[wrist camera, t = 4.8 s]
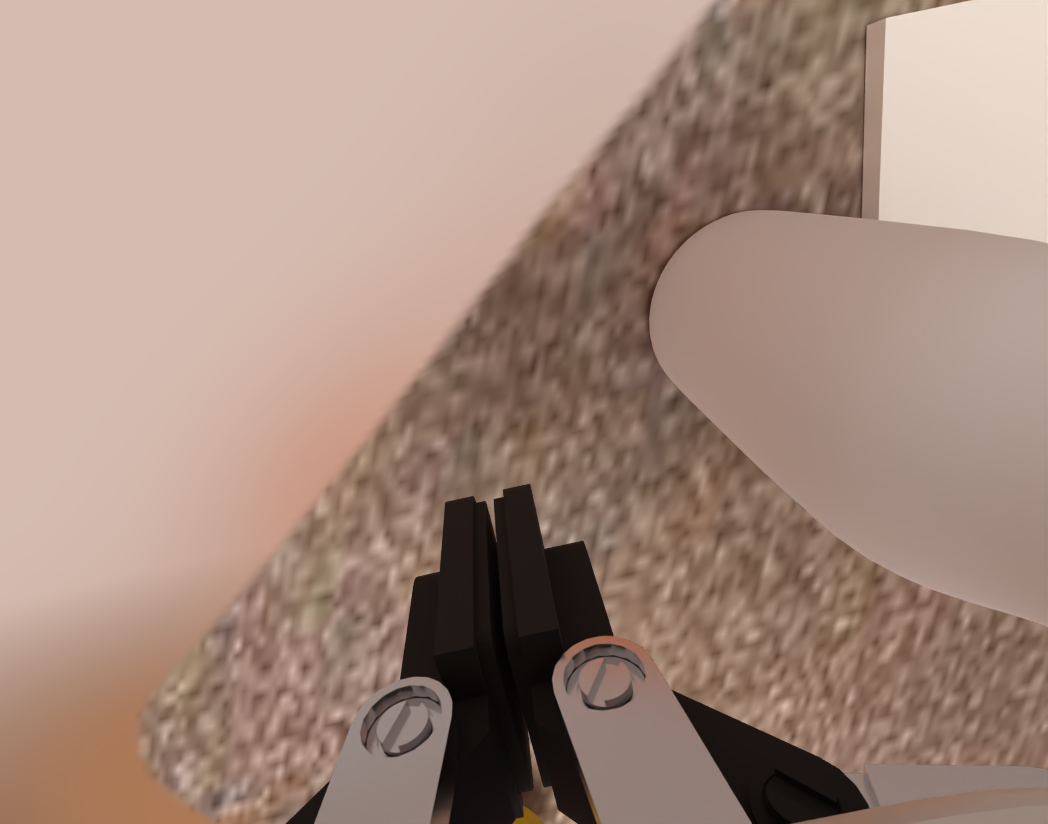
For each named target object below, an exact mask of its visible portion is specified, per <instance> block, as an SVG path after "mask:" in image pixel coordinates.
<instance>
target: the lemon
mask: <svg viewBox="0 0 1048 824" xmlns="http://www.w3.org/2000/svg"><path fill="white" fill-rule="evenodd" d="M523 812H524V817H521V818H517V819H516V820H515V821H514V822H513V824H543V823H542V821H541V820H540V819H539V817H538V816H537V815H536V814H535V813H534V812H532V811H531V810H530V809H528V808H527V807H525V806H523Z"/></svg>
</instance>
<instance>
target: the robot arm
mask: <svg viewBox="0 0 1048 824" xmlns="http://www.w3.org/2000/svg"><path fill="white" fill-rule="evenodd" d="M503 495H504V497H501V498H497V499H494V511H495V525H496V538H497V542H496V538H495V534H494V530H493V526H492V522H491V518H490V515H489V511H488V507H487V504H486V501H483V502H478V503H476V501H475V498H474V496H471V497H467V498H462V499H457V500H453V501H448V502H446V503H445V512H444V525H443V537H442V550H441V563H440V572H437V573H432V574H427V575H423V576H418V577H416V578H415V581H414V585H413V592H412V599H411V606H410V613H409V620H408V627H407V634H406V641H405V648H404V655H403V663H402V670H401V677H400V680H398V681H396V682H394V683H392V684H389V685H387V686H385V687H383V688H382V689H381V690H379V691H378V692H377V693H375V694H374V695H373V696H371V697H370V698H369V699H368V700H367V702H366V703H365V704H364V705H363V706H362V707H361V708H360V709H359V711H358V713H357V715H356V717H355V719H354V721H353V722H352V725H351V727H350V730H349V732H348V735H347V738H346V740H345V743H344V746H343V748H342V751H341V754H340V756H339V759H338V762H337V764H336V767H335V770H334V772H333V775H332V778H331V780H330V781H329V782H328V783H327V784H326V785H325V786H324V787H323V788H322V789H321V790H320V791H319V792H318V793H317V794H316V795H315V796H314V797H313V798H312V799H311V800H310V801H309V802H308V803H307V804H306V805H305V806H303V807H302V808H301V809H300V810H299V811H298V812H297V813H296V814H295V815H294V816H293V817H292V818H291V819H290V820H289V821H288V822H287V823H286V824H513V822H514V821H515V820H516V819H517V818H521V817H524V812H523V800H522V792H526V791H531V790H533V775H532V765H531V756H530V746H529V737H528V732H529V735H530V739H531V743H532V746H533V750H534V754H535V757H536V761H537V765H538V769H539V772H540V776H541V780H542V783H543V786H544V788H545V787H549V786H552V788H553V792H554V795H555V799H556V803H557V807H558V810H559V811H560V812H562V813H563V814H565V815H566V816H568V817H569V818H570V819H572V820H573V821H575V822H576V823H578V824H1048V769H1042V768H1036V767H1029V766H958V765H880V764H864V774H859V773H843V772H842V771H841V770H840V769H838V768H836V767H835V766H833V765H831V764H830V763H828V762H826V761H825V760H823V759H821V758H820V757H818V756H815V755H813V754H811V753H809V752H807V751H804V750H802V749H800V748H798V747H796V746H793V745H791V744H789V743H787V742H785V741H782V740H780V739H778V738H776V737H774V736H772V735H769V734H767V733H765V732H763V731H761V730H758V729H756V728H754V727H752V726H750V725H747V724H745V723H743V722H741V721H739V720H736V719H734V718H732V717H730V716H728V715H726V714H723V713H721V712H719V711H717V710H715V709H712V708H710V707H708V706H706V705H704V704H701V703H699V702H697V701H695V700H693V699H690V698H688V697H686V696H684V695H682V694H679V693H677V692H675V691H673V690H671V688H670V687H669V685H668V683H667V682H666V680H665V679H664V677H663V675H662V674H661V672H660V670H659V669H658V667H657V665H656V664H655V662H654V660H653V659H652V657H651V656H650V655H649V654H648V653H647V651H646V650H645V649H644V648H643V647H641V646H640V645H638V644H636V643H635V642H633V641H631V640H628V639H625V638H621V637H617V636H614V635H613V632H612V629H611V626H610V623H609V619H608V616H607V613H606V610H605V607H604V604H603V600H602V597H601V594H600V591H599V588H598V585H597V581H596V578H595V575H594V572H593V569H592V566H591V562H590V559H589V556H588V553H587V550H586V547H585V544H584V541H579V542H575V543H570V544H566V545H561V546H556V547H552V548H547V549H544V545H543V540H542V536H541V531H540V527H539V522H538V517H537V513H536V508H535V504H534V499H533V495H532V490H531V486H530V484H527V485H522V486H517V487H513V488H508V489H504V490H503Z"/></svg>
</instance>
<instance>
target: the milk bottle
mask: <svg viewBox="0 0 1048 824" xmlns="http://www.w3.org/2000/svg"><path fill="white" fill-rule="evenodd" d="M649 330H650V338H651V343H652V347H653V350H654V353H655V356H656V358H657V360H658V362H659V364H660V366H661V368H662V369H663V371H664V372H665V373H666V375H667V376H668V377H669V379H670V380H671V381H672V382H673V383H674V384H675V385H676V386H677V388H678V389H679V390H680V391H681V392H682V393H683V394H684V395H685V396H686V397H687V398H688V399H689V400H690V401H691V402H692V403H693V404H694V405H695V406H696V407H697V408H698V409H699V410H700V411H701V412H702V413H703V414H704V415H705V416H706V417H707V418H708V419H709V420H710V421H711V422H712V423H713V424H714V425H715V426H716V427H718V428H719V429H720V430H721V431H722V432H723V433H724V434H725V435H726V436H727V437H728V438H729V439H730V440H731V441H732V442H733V443H734V444H735V445H736V446H737V447H738V448H739V449H740V450H741V451H742V452H743V453H744V454H745V455H746V456H747V457H748V458H749V459H750V460H751V461H752V462H753V463H755V464H756V465H757V466H758V467H759V468H760V469H761V470H762V471H763V472H764V473H765V474H766V475H767V476H768V477H769V478H770V479H771V480H772V481H773V482H774V483H775V484H776V485H777V486H779V487H780V488H781V489H782V490H783V491H784V492H785V493H786V494H787V495H788V496H789V497H790V498H792V499H793V500H794V501H795V502H796V503H797V504H798V505H800V506H801V507H802V508H803V509H804V510H805V511H806V512H808V513H809V514H810V515H811V516H812V517H813V518H814V519H816V520H817V521H818V522H819V523H820V524H821V525H822V526H824V527H825V528H826V529H827V530H828V531H830V532H831V533H832V534H833V535H834V536H836V537H837V538H839V539H840V540H842V541H843V542H844V543H846V544H847V545H849V546H850V547H852V548H853V549H854V550H856V551H857V552H859V553H860V554H862V555H863V556H865V557H866V558H868V559H870V560H871V561H873V562H875V563H877V564H879V565H880V566H882V567H884V568H886V569H888V570H889V571H891V572H893V573H895V574H897V575H899V576H901V577H903V578H906V579H908V580H910V581H913V582H915V583H917V584H919V585H922V586H924V587H926V588H929V589H931V590H934V591H937V592H940V593H943V594H946V595H949V596H952V597H955V598H958V599H961V600H964V601H967V602H970V603H973V604H977V605H980V606H984V607H987V608H990V609H994V610H997V611H1001V612H1004V613H1007V614H1010V615H1014V616H1017V617H1020V618H1023V619H1026V620H1029V621H1032V622H1035V623H1038V624H1041V625H1044V626H1046V627H1048V243H1044V242H1039V241H1035V240H1030V239H1023V238H1017V237H1010V236H1004V235H997V234H991V233H984V232H978V231H971V230H964V229H955V228H946V227H937V226H928V225H919V224H910V223H901V222H892V221H882V220H873V219H864V218H853V217H843V216H833V215H822V214H812V213H801V212H790V211H779V210H751V211H743V212H739V213H734V214H731V215H728V216H725V217H723V218H720V219H718V220H716V221H714V222H712V223H710V224H708V225H706V226H705V227H703V228H702V229H700V230H699V231H697V232H696V233H695V234H694V235H692V236H691V237H690V238H689V239H688V240H687V241H686V242H685V243H684V244H683V245H681V247H680V248H679V249H678V250H677V251H676V252H675V253H674V255H673V256H672V258H671V259H670V260H669V262H668V263H667V265H666V267H665V268H664V270H663V272H662V274H661V276H660V278H659V280H658V282H657V285H656V288H655V290H654V294H653V298H652V302H651V307H650V317H649Z"/></svg>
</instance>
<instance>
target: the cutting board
mask: <svg viewBox="0 0 1048 824" xmlns="http://www.w3.org/2000/svg"><path fill="white" fill-rule="evenodd" d="M862 218H864V219H873V220H882V221H892V222H901V223H910V224H919V225H928V226H937V227H946V228H955V229H964V230H971V231H978V232H984V233H991V234H997V235H1004V236H1010V237H1017V238H1023V239H1030V240H1035V241H1039V242H1044V243H1048V0H971V1H966V2H961V3H956V4H951V5H947V6H942V7H937V8H932V9H927V10H923V11H918V12H913V13H908V14H903V15H898V16H894V17H889V18H885V19H882V20H880V21H877V22H875V23H872V24H870V25H867V34H866V73H865V111H864V150H863V188H862Z"/></svg>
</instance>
